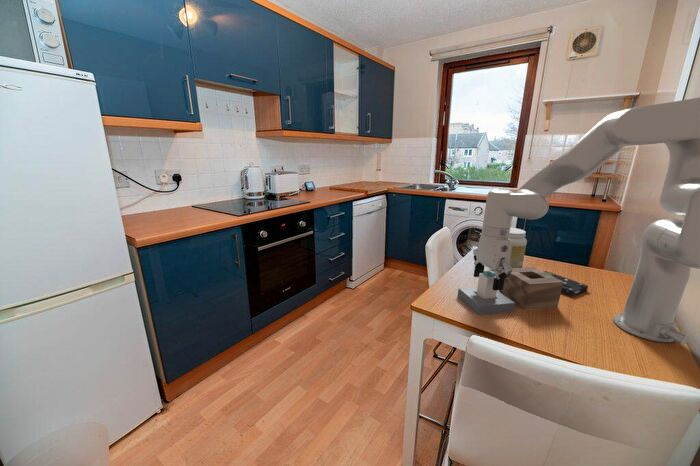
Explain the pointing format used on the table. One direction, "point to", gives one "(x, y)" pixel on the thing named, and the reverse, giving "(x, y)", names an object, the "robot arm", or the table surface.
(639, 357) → the table surface
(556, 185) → the robot arm
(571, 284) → the disk drive
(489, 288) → the plug peg
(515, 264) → the supplement tub
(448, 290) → the table surface
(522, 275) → the upper socket tower
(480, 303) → the lower socket plate
